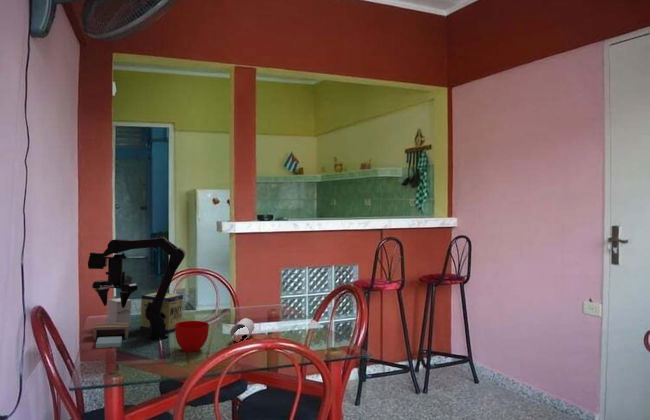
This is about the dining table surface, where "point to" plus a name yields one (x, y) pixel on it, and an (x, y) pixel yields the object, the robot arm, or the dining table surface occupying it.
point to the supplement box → (118, 311)
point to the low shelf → (110, 329)
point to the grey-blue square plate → (108, 342)
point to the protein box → (163, 310)
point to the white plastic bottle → (241, 324)
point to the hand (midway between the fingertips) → (114, 306)
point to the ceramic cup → (191, 335)
